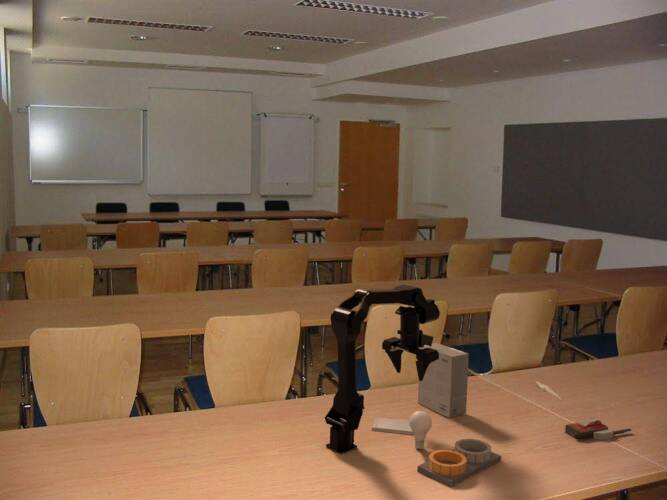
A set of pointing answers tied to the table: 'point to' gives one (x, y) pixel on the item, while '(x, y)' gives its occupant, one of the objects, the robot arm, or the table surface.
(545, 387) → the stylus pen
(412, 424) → the lightbulb
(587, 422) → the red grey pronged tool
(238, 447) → the table surface
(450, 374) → the hard drive box
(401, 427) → the hard drive
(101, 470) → the table surface
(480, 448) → the bulb holder
